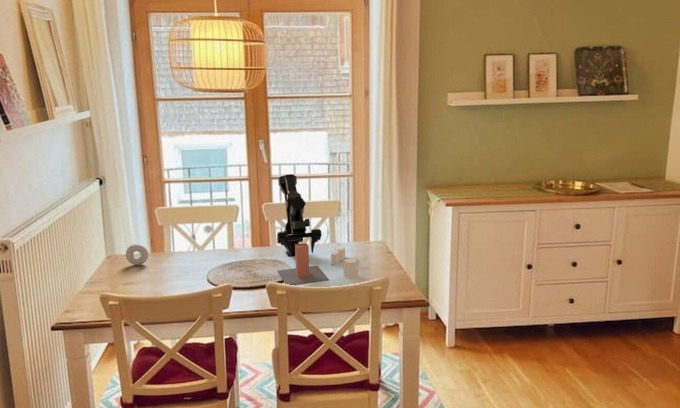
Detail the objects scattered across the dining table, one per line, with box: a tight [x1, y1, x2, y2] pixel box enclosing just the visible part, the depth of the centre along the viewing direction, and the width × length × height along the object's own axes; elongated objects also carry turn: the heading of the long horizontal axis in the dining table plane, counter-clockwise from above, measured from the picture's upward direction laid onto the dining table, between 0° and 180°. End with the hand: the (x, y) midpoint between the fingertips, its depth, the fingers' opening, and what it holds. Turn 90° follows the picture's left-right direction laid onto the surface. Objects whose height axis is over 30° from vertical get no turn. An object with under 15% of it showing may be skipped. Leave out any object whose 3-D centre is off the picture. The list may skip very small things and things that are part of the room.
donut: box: [125, 243, 149, 266], centre depth 265 cm, size 10×4×10 cm, turn 95°
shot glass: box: [342, 257, 360, 280], centre depth 245 cm, size 7×7×7 cm
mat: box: [277, 265, 330, 286], centre depth 248 cm, size 18×18×1 cm
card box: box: [294, 242, 310, 277], centre depth 247 cm, size 5×5×13 cm
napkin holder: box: [330, 246, 346, 266], centre depth 266 cm, size 15×11×6 cm
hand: (301, 253), depth 246 cm, fingers open, 9 cm apart
